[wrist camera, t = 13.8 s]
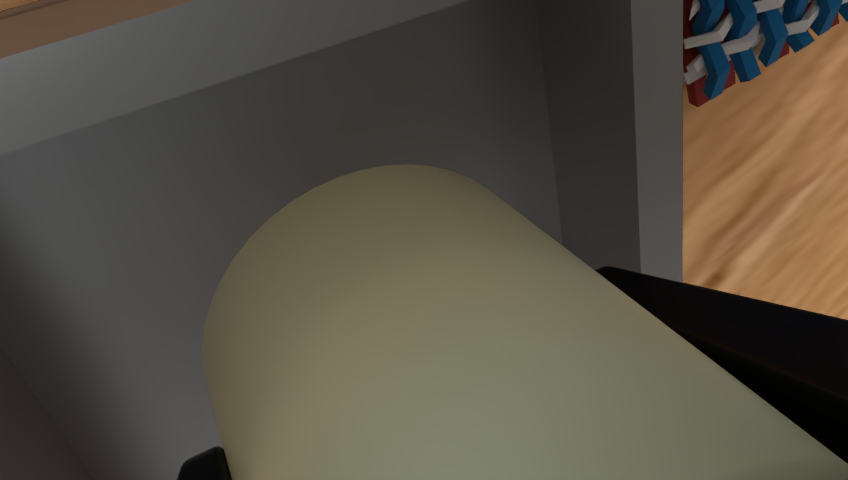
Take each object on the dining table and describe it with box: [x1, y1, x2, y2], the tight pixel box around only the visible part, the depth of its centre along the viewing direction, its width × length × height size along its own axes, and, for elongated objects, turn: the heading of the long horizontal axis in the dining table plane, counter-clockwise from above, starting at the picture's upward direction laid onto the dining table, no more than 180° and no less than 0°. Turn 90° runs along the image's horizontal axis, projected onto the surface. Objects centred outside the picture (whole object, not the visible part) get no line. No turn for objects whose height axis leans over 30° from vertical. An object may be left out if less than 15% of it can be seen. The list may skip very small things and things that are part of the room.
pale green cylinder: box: [202, 164, 848, 480], centre depth 7 cm, size 4×4×5 cm
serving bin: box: [0, 0, 683, 480], centre depth 14 cm, size 14×13×4 cm
